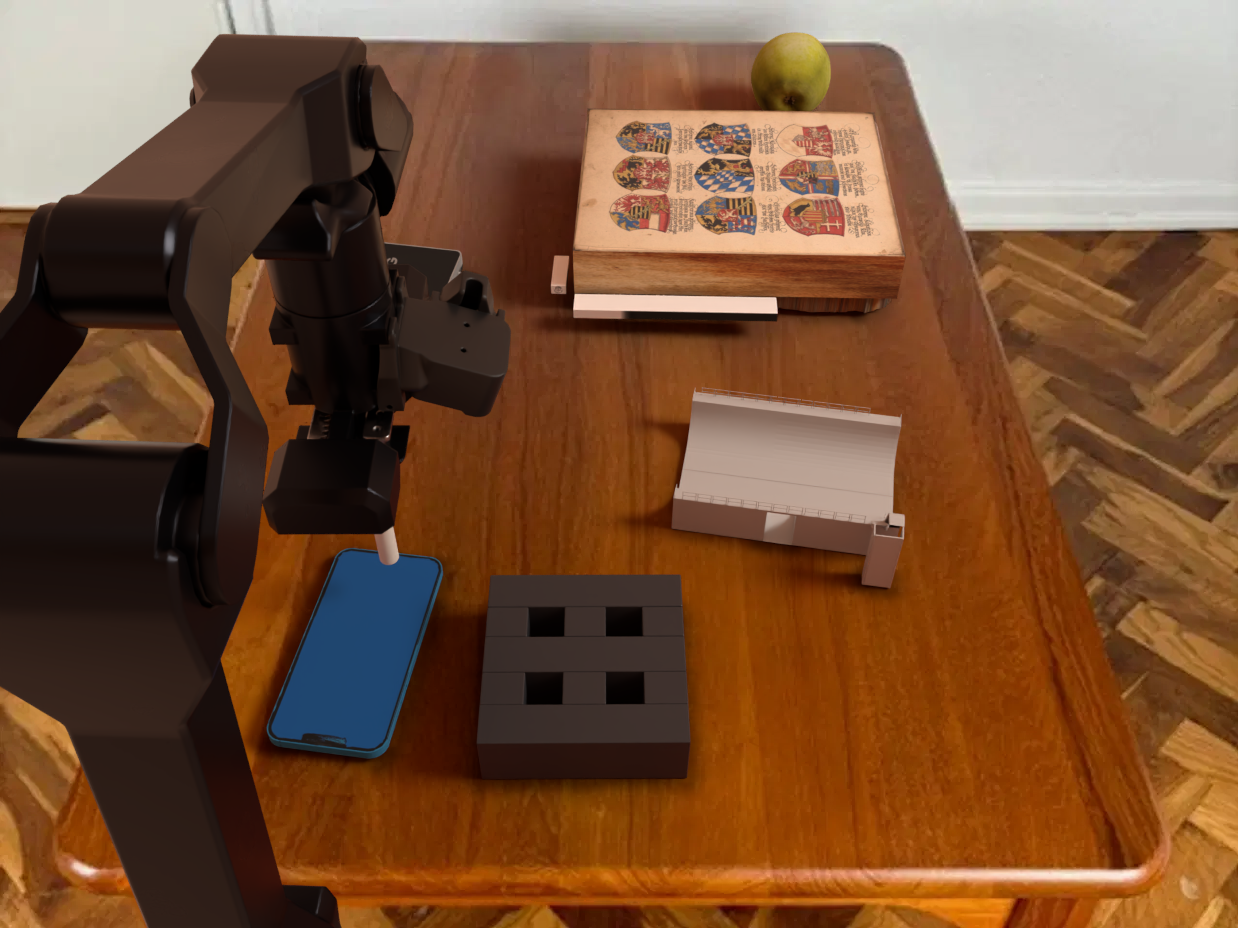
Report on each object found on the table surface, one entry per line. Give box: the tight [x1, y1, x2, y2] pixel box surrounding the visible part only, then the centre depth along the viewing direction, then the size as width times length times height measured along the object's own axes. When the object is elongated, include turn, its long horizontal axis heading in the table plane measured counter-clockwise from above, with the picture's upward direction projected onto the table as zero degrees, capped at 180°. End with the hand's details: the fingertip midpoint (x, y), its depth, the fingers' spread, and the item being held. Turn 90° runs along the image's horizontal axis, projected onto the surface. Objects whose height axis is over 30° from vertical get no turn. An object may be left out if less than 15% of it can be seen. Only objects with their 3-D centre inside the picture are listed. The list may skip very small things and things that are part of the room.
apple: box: [750, 31, 832, 111], centre depth 118 cm, size 8×9×8 cm
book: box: [550, 107, 907, 323], centre depth 103 cm, size 25×6×28 cm
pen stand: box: [476, 573, 691, 780], centre depth 72 cm, size 12×12×4 cm
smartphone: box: [266, 547, 444, 760], centre depth 75 cm, size 7×1×15 cm
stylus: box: [373, 526, 400, 565], centre depth 71 cm, size 1×1×11 cm
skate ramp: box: [671, 387, 906, 589], centre depth 82 cm, size 15×13×5 cm
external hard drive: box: [384, 241, 464, 297], centre depth 100 cm, size 7×11×2 cm, turn 81°
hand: (376, 493), depth 70 cm, fingers closed on stylus, 1 cm apart
